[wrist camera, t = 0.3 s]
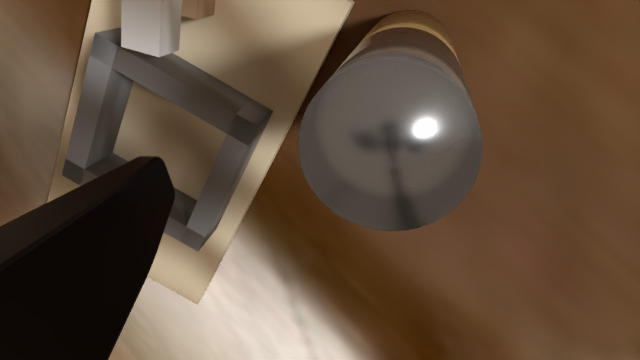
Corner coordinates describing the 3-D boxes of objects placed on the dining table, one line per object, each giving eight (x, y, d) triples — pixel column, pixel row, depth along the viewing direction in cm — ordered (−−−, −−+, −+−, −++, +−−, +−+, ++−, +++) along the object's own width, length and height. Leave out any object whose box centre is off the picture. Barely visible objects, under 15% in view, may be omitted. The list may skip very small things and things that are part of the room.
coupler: (420, 117, 23) (414, 258, 12) (346, 74, 23) (270, 176, 12) (473, 39, 21) (524, 124, 10) (391, -9, 21) (351, 22, 10)
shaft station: (202, 296, 32) (169, 345, 28) (51, 212, 31) (-5, 249, 27) (354, 2, 21) (337, 11, 17) (131, -129, 21) (60, -152, 17)
